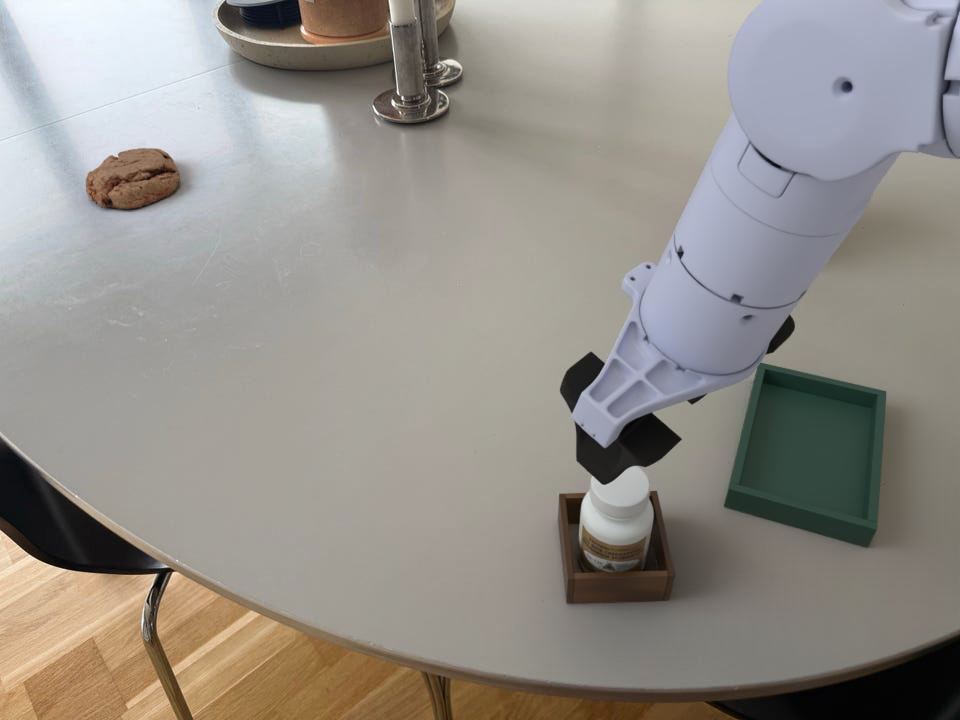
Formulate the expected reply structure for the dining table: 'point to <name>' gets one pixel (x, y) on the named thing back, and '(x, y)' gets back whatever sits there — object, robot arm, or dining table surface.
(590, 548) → the pill bottle
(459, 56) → the dining table surface
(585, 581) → the wooden frame
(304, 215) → the dining table surface
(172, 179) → the cookie
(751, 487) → the tray
